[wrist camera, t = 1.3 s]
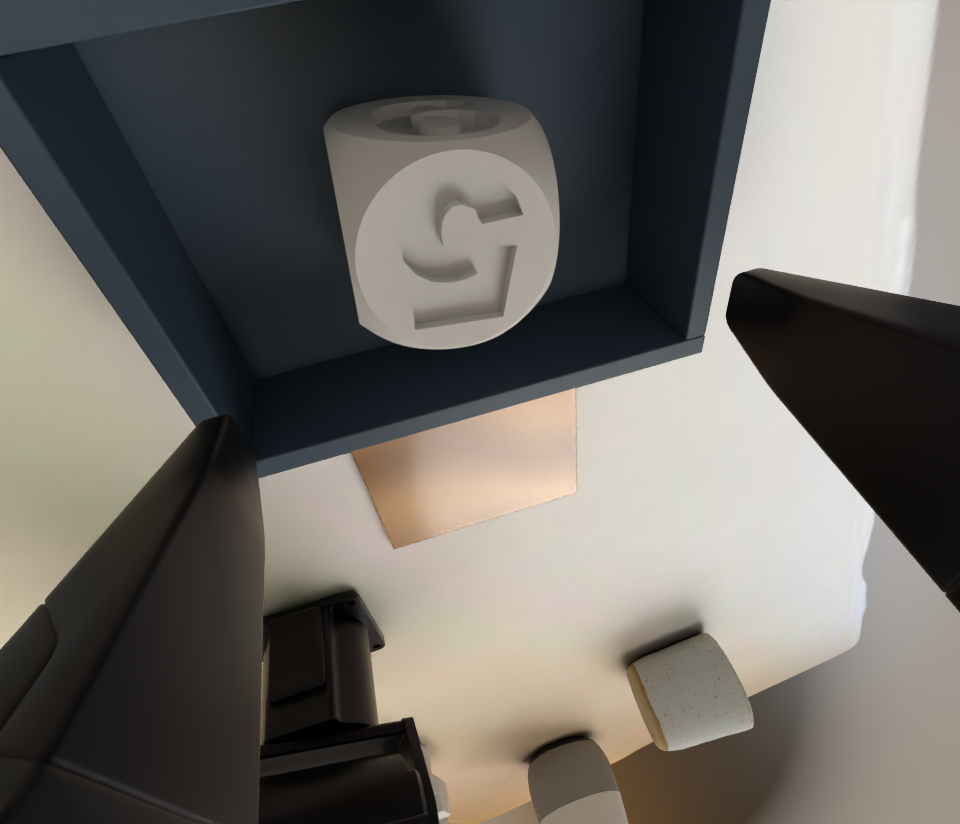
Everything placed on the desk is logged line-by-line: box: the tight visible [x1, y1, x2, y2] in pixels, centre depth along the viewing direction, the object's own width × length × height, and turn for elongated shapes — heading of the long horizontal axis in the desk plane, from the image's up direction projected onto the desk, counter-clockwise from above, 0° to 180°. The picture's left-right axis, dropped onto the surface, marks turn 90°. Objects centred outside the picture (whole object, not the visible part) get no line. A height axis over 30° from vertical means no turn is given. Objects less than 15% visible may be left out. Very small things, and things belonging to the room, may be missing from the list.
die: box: [323, 95, 560, 349], centre depth 14 cm, size 5×5×5 cm
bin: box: [0, 0, 771, 478], centre depth 14 cm, size 11×15×5 cm
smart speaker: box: [528, 737, 628, 824], centre depth 54 cm, size 10×9×14 cm
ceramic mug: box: [627, 633, 754, 751], centre depth 46 cm, size 11×8×8 cm
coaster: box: [352, 388, 576, 549], centre depth 24 cm, size 10×10×1 cm
